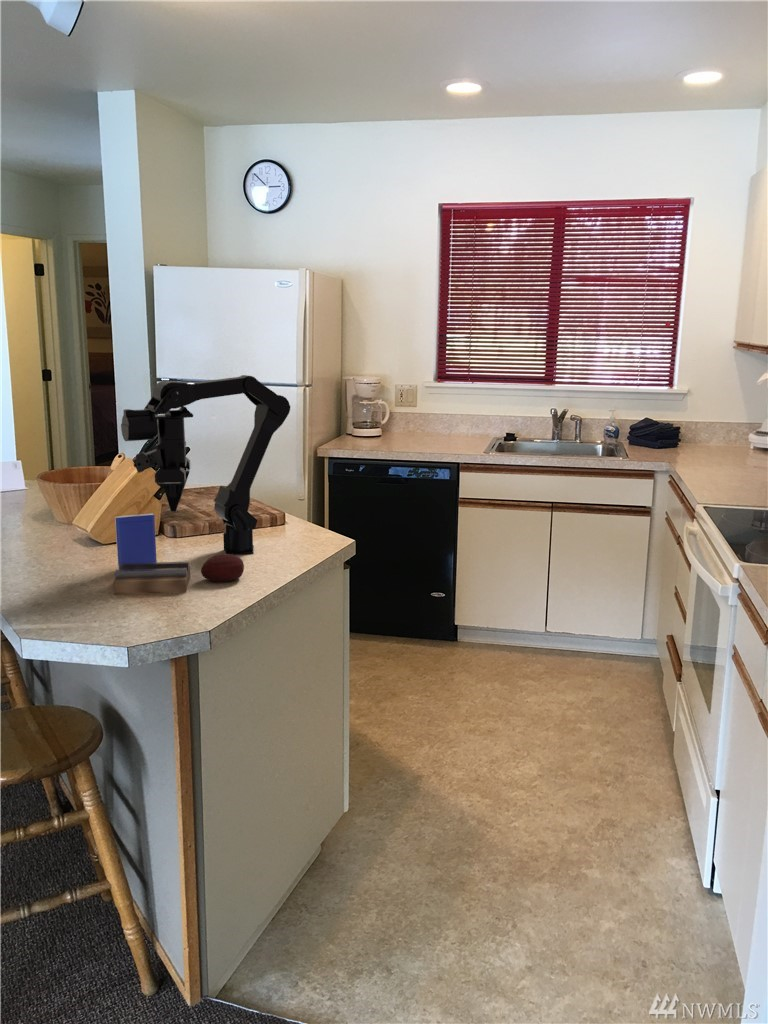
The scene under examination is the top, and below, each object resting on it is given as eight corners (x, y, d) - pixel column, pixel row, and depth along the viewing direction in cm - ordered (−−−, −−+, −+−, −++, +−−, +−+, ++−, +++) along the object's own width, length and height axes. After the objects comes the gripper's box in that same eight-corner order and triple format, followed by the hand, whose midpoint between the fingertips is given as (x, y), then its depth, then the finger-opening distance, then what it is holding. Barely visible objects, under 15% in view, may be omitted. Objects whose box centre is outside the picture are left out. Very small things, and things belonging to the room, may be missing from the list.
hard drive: (157, 568, 178) (154, 514, 175) (119, 573, 174) (115, 518, 171) (155, 567, 179) (153, 513, 176) (118, 571, 175) (114, 516, 173)
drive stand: (190, 578, 171) (189, 558, 170) (186, 593, 161) (185, 572, 160) (122, 581, 168) (121, 560, 167) (114, 596, 159) (112, 574, 158)
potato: (245, 585, 167) (244, 558, 165) (201, 588, 165) (200, 560, 164) (243, 575, 174) (243, 548, 173) (201, 577, 172) (200, 550, 171)
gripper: (139, 433, 184) (143, 499, 188) (128, 444, 167) (132, 517, 170) (188, 432, 186) (191, 498, 190) (182, 444, 168) (186, 515, 172)
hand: (175, 506), depth 180 cm, fingers open, 9 cm apart
